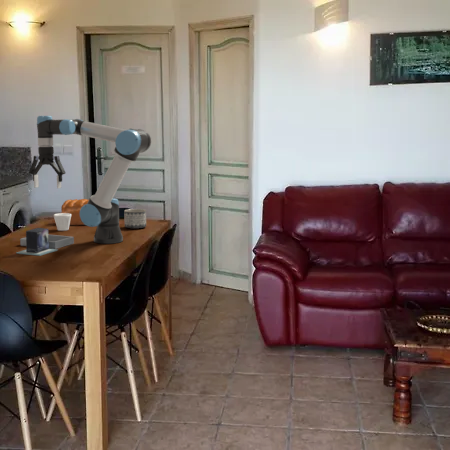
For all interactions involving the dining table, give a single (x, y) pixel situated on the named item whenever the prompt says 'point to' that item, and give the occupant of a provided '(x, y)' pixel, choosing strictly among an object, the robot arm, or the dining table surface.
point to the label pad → (38, 252)
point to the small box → (37, 240)
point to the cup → (62, 221)
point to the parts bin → (54, 241)
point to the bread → (74, 210)
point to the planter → (135, 218)
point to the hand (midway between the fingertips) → (47, 187)
